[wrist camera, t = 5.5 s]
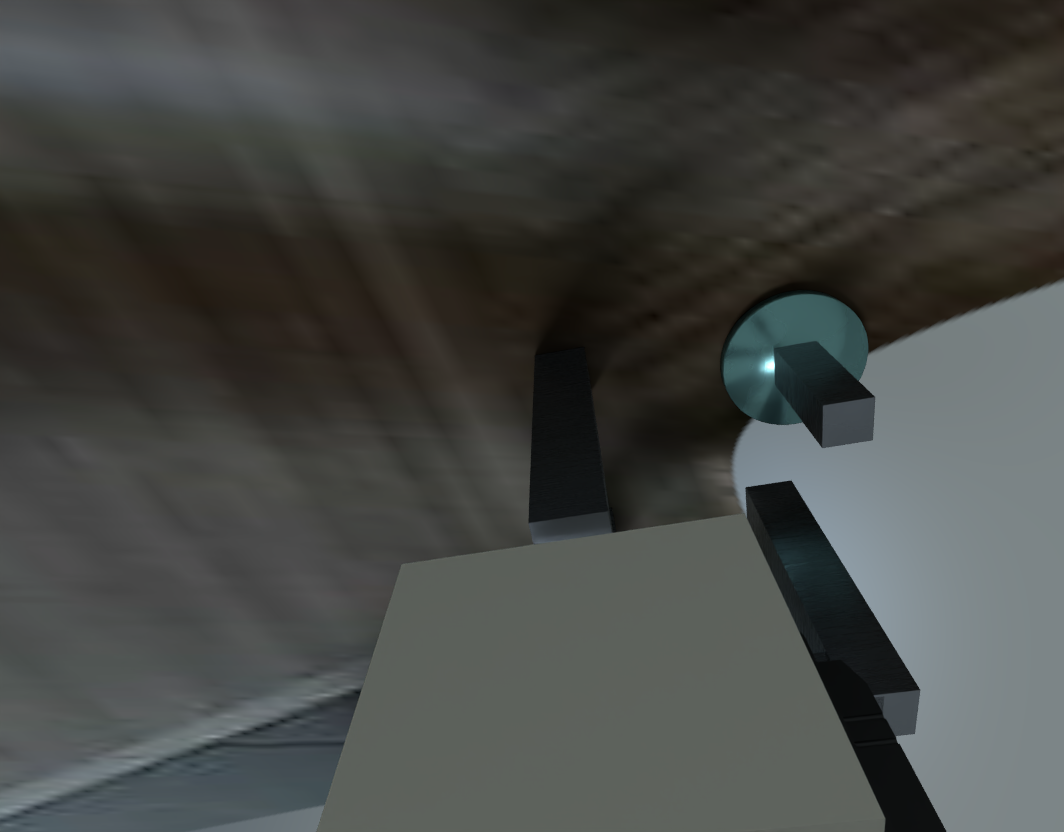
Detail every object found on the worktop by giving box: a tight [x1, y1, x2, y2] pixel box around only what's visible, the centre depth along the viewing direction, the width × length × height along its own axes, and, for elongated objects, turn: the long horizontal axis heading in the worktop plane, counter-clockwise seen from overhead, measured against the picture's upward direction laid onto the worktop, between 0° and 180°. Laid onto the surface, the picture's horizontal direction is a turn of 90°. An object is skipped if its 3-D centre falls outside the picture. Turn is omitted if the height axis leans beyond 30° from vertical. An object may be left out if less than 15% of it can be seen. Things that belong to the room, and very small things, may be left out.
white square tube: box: [317, 513, 885, 832], centre depth 10 cm, size 6×6×5 cm
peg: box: [720, 290, 875, 448], centre depth 23 cm, size 6×6×6 cm
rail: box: [529, 347, 920, 736], centre depth 22 cm, size 10×10×11 cm
